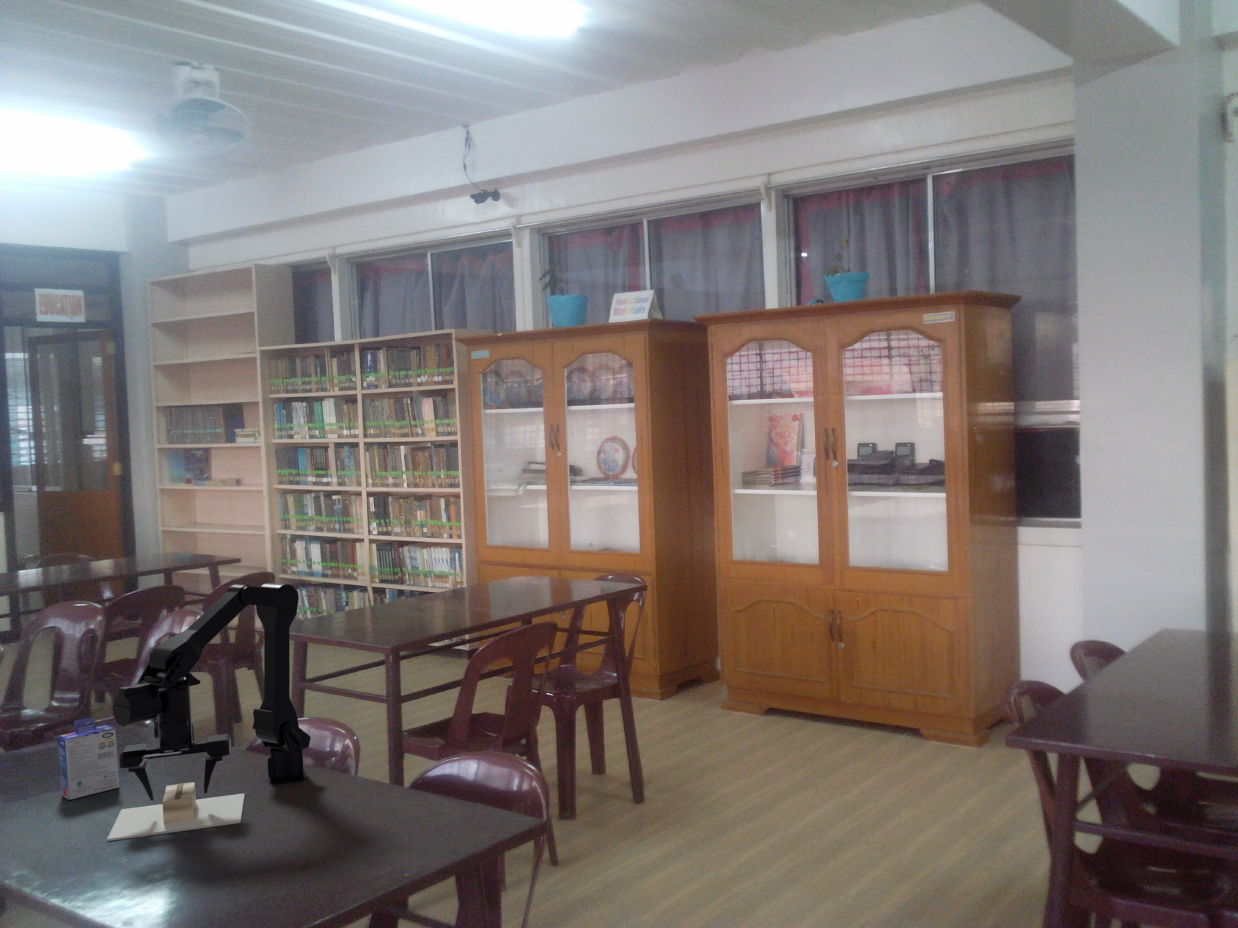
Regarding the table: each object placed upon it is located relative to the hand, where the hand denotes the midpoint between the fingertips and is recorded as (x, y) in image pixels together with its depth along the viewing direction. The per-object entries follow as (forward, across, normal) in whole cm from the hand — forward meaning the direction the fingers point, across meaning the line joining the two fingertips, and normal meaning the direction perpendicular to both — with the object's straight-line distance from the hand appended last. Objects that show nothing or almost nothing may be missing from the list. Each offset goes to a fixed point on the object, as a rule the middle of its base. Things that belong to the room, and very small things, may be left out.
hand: (179, 796), depth 200 cm
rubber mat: (+4, 0, +1) cm, 4 cm away
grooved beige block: (+3, 0, 0) cm, 3 cm away
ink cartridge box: (+4, +19, -23) cm, 30 cm away
